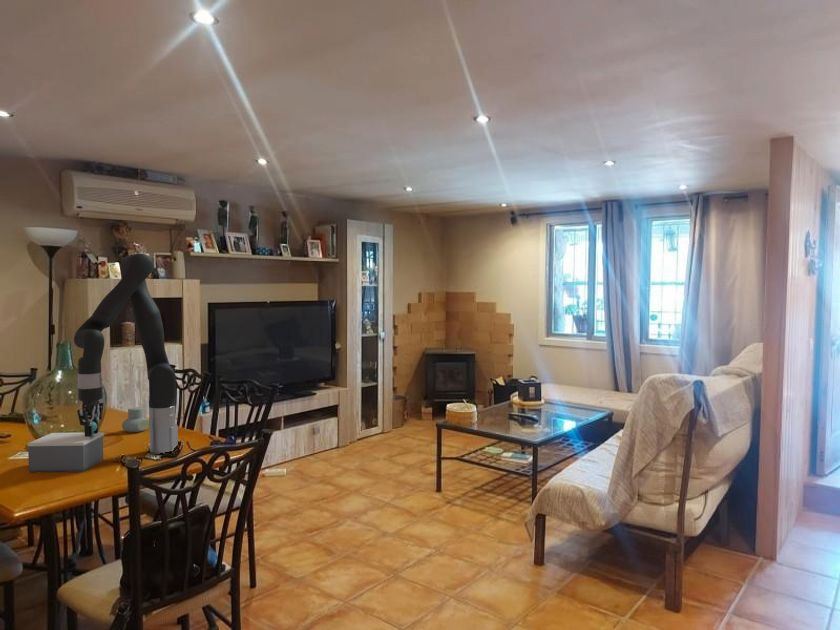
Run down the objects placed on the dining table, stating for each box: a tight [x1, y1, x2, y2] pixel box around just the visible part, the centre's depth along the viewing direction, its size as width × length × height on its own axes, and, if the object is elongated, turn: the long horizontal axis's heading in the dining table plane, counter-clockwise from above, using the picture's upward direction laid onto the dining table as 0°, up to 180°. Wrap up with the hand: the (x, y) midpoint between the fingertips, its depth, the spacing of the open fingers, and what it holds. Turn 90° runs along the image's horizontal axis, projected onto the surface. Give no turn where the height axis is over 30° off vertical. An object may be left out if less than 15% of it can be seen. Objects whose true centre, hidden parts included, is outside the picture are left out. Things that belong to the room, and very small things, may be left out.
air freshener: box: [121, 406, 149, 433], centre depth 260 cm, size 11×8×10 cm
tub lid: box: [27, 422, 105, 447], centre depth 208 cm, size 19×14×6 cm
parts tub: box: [27, 435, 105, 474], centre depth 209 cm, size 18×14×9 cm
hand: (91, 434), depth 209 cm, fingers open, 3 cm apart
